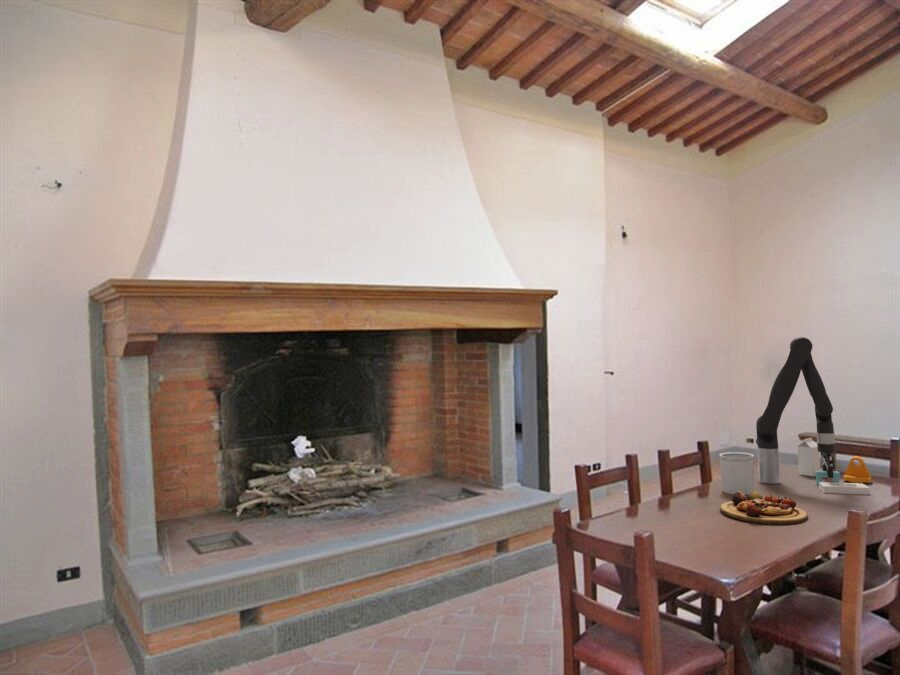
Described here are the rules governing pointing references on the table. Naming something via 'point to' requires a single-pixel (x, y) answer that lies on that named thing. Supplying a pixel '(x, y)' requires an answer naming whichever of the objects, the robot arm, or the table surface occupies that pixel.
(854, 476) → the bracket
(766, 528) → the table surface
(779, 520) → the wooden plate with food
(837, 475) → the teal block
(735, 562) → the table surface
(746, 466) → the utensil holder
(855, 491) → the white slotted board
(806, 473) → the milk carton
